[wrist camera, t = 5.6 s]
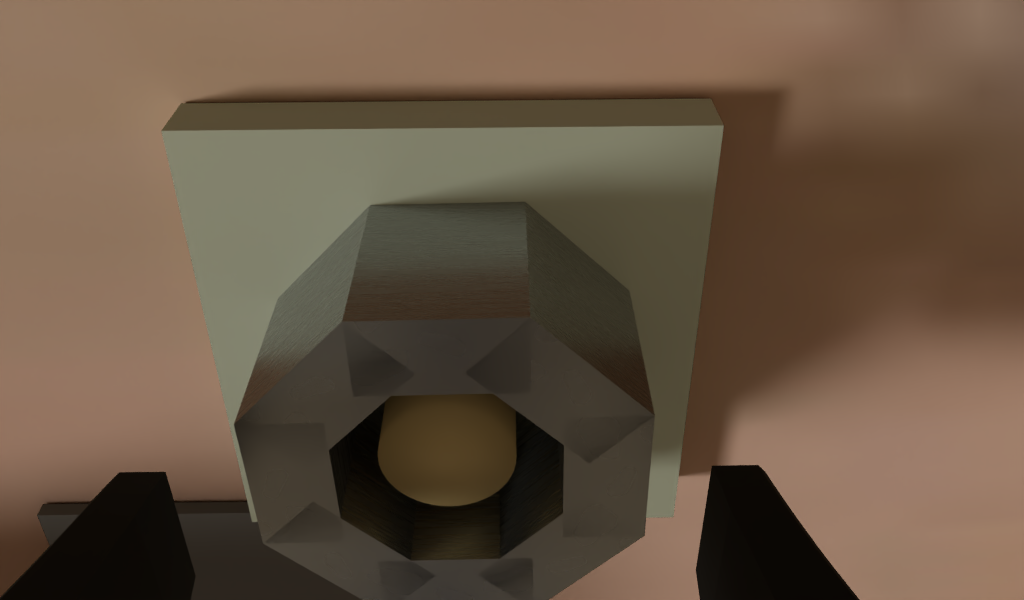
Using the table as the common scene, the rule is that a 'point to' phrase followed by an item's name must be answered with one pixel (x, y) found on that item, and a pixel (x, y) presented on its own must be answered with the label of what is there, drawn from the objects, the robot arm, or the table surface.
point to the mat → (225, 554)
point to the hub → (453, 179)
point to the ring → (444, 371)
